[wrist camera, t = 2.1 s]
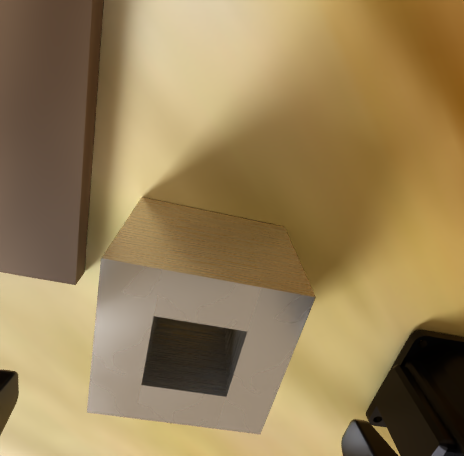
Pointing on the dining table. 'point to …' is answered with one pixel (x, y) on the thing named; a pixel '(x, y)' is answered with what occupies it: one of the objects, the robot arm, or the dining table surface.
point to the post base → (47, 134)
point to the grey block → (196, 318)
